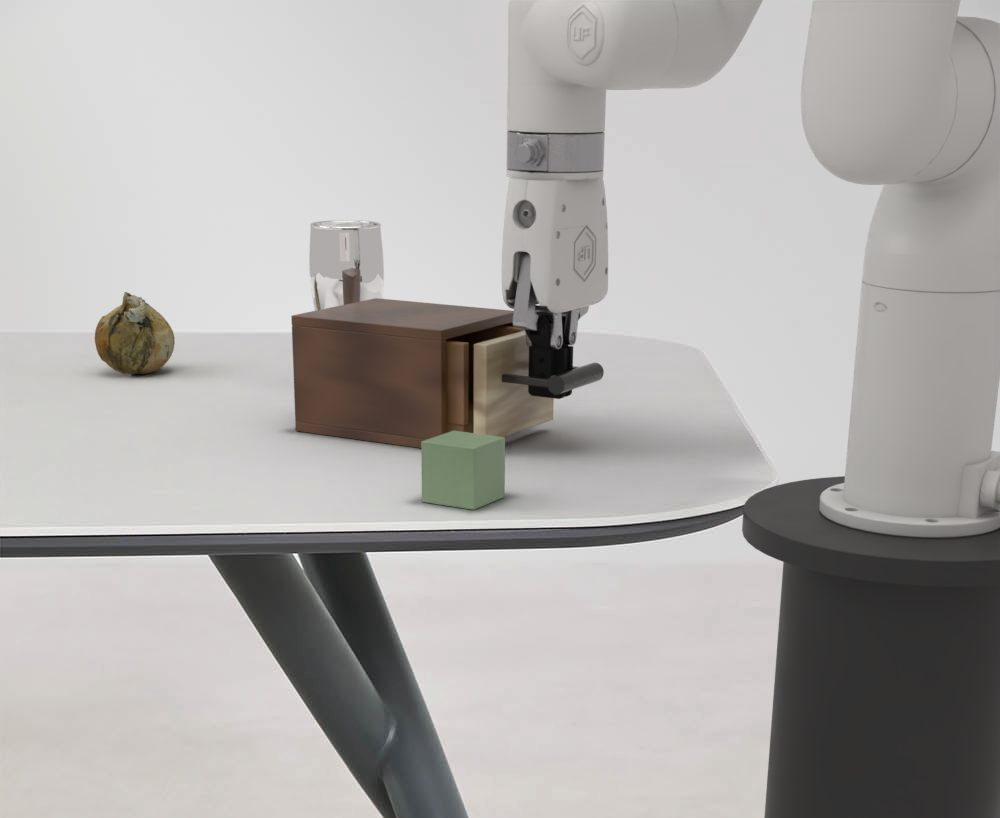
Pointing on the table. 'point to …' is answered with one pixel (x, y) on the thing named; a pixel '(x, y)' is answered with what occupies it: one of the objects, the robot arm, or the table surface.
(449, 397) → the drawer
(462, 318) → the cabinet
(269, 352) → the table surface
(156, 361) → the onion
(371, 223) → the beer glass
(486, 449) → the block
